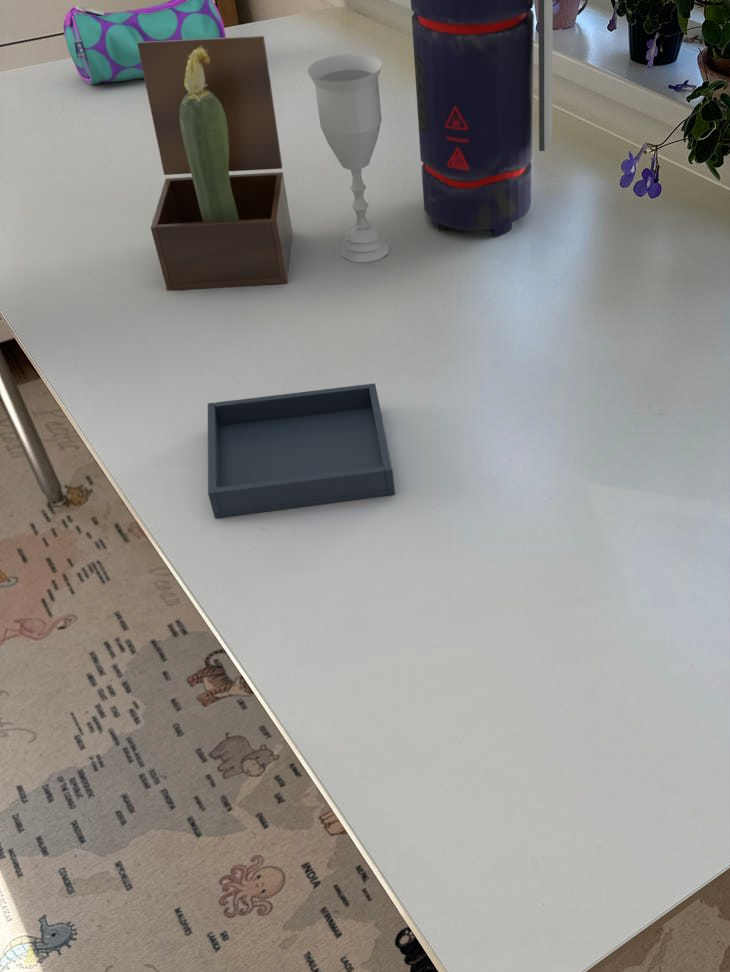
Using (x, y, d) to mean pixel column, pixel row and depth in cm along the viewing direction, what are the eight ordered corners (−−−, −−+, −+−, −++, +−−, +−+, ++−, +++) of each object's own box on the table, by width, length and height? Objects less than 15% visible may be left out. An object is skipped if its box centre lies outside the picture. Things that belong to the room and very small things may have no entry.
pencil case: (88, 96, 142) (66, 18, 135) (75, 76, 148) (53, -1, 141) (234, 69, 148) (220, -8, 141) (216, 50, 154) (202, -24, 147)
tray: (214, 518, 81) (207, 493, 79) (213, 427, 89) (207, 403, 87) (395, 494, 83) (392, 469, 81) (377, 407, 91) (375, 382, 89)
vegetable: (201, 261, 108) (153, 51, 94) (223, 242, 111) (179, 35, 96) (238, 268, 107) (195, 56, 93) (259, 249, 110) (221, 40, 95)
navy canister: (409, 234, 113) (385, -98, 91) (442, 187, 120) (426, -129, 98) (534, 248, 110) (539, -91, 88) (558, 199, 118) (569, -124, 96)
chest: (287, 283, 106) (276, 220, 101) (166, 290, 106) (150, 227, 101) (292, 232, 114) (282, 171, 109) (180, 239, 113) (165, 178, 108)
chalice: (370, 273, 107) (350, 86, 94) (318, 257, 110) (291, 73, 96) (410, 244, 111) (397, 61, 98) (359, 229, 114) (339, 49, 101)
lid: (263, 36, 101) (264, 35, 102) (136, 42, 101) (138, 41, 101) (281, 168, 108) (282, 167, 109) (163, 175, 108) (165, 173, 108)
